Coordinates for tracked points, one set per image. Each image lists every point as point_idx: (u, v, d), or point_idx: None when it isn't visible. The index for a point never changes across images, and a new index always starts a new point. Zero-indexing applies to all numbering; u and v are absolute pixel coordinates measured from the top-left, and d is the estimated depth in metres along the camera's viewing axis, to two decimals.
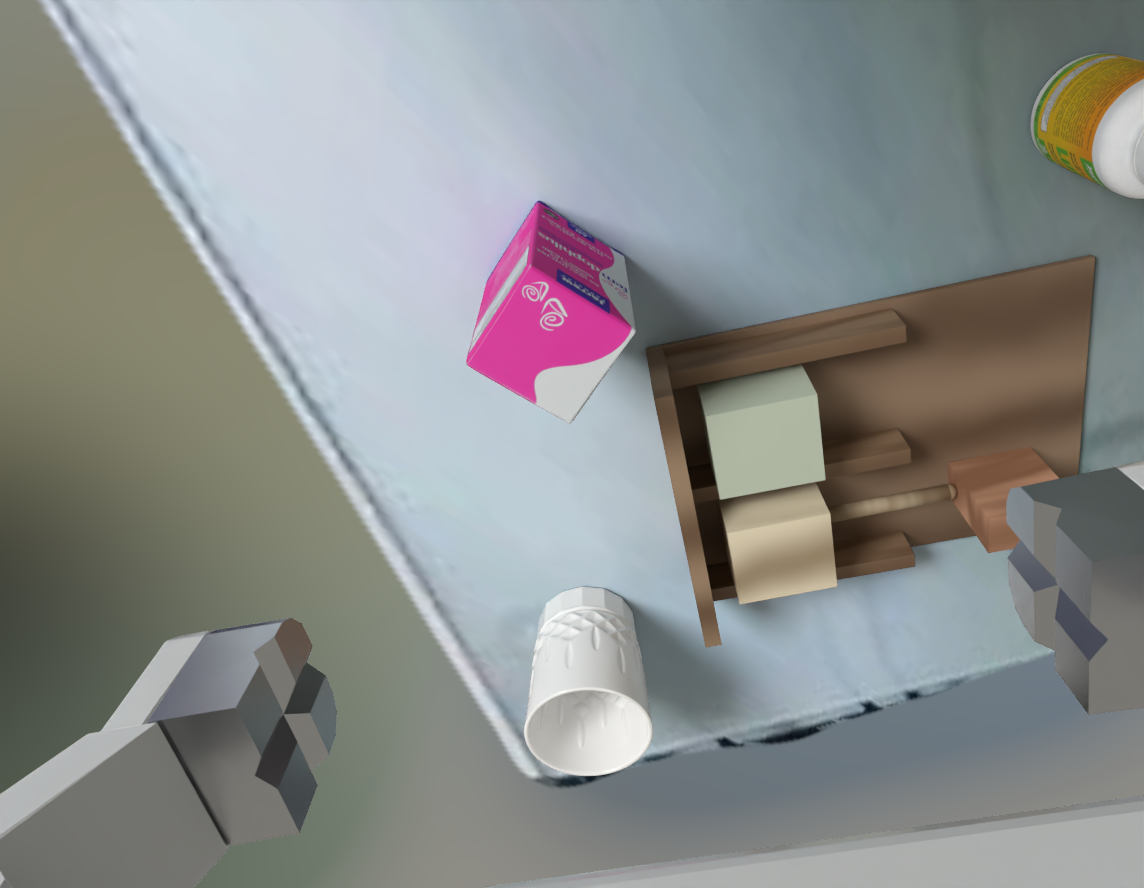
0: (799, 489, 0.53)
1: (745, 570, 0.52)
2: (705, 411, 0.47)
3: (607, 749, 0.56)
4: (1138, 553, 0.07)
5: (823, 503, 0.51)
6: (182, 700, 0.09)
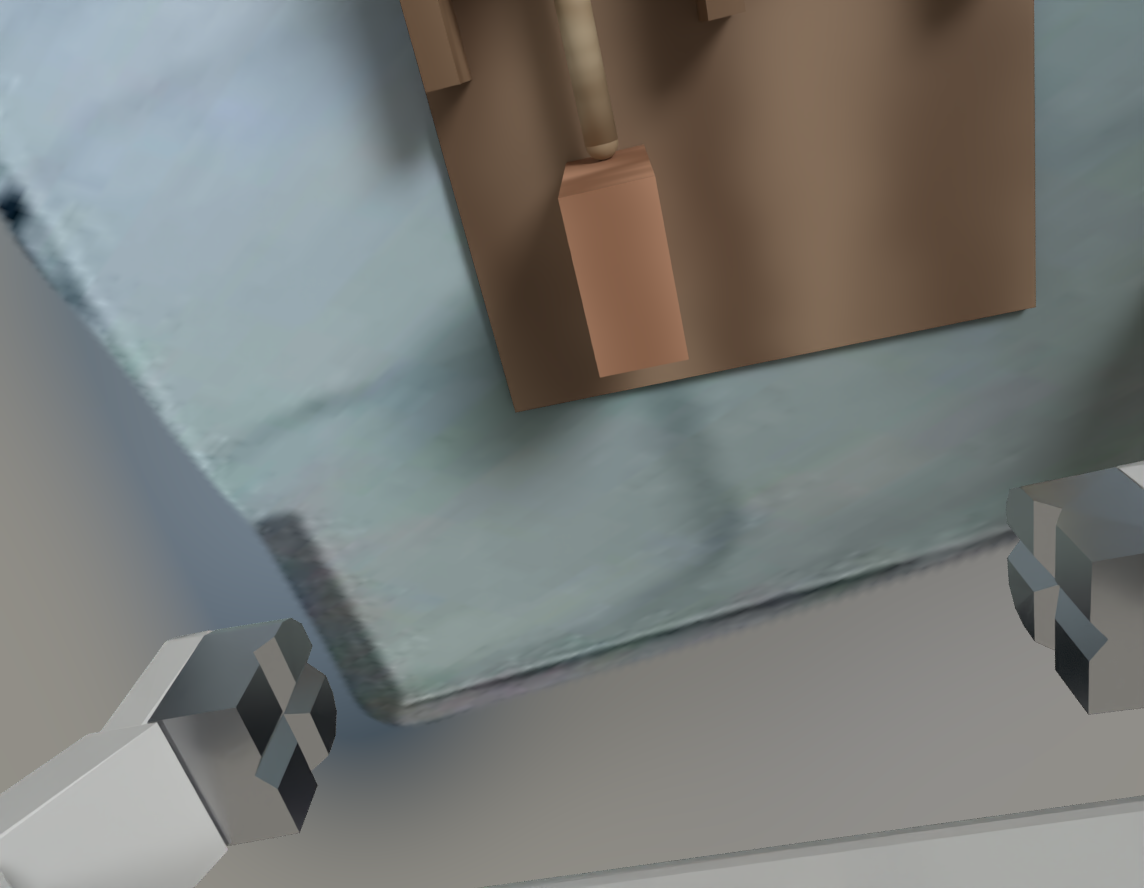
0: None
1: None
2: None
3: None
4: (1138, 553, 0.07)
5: None
6: (182, 700, 0.09)
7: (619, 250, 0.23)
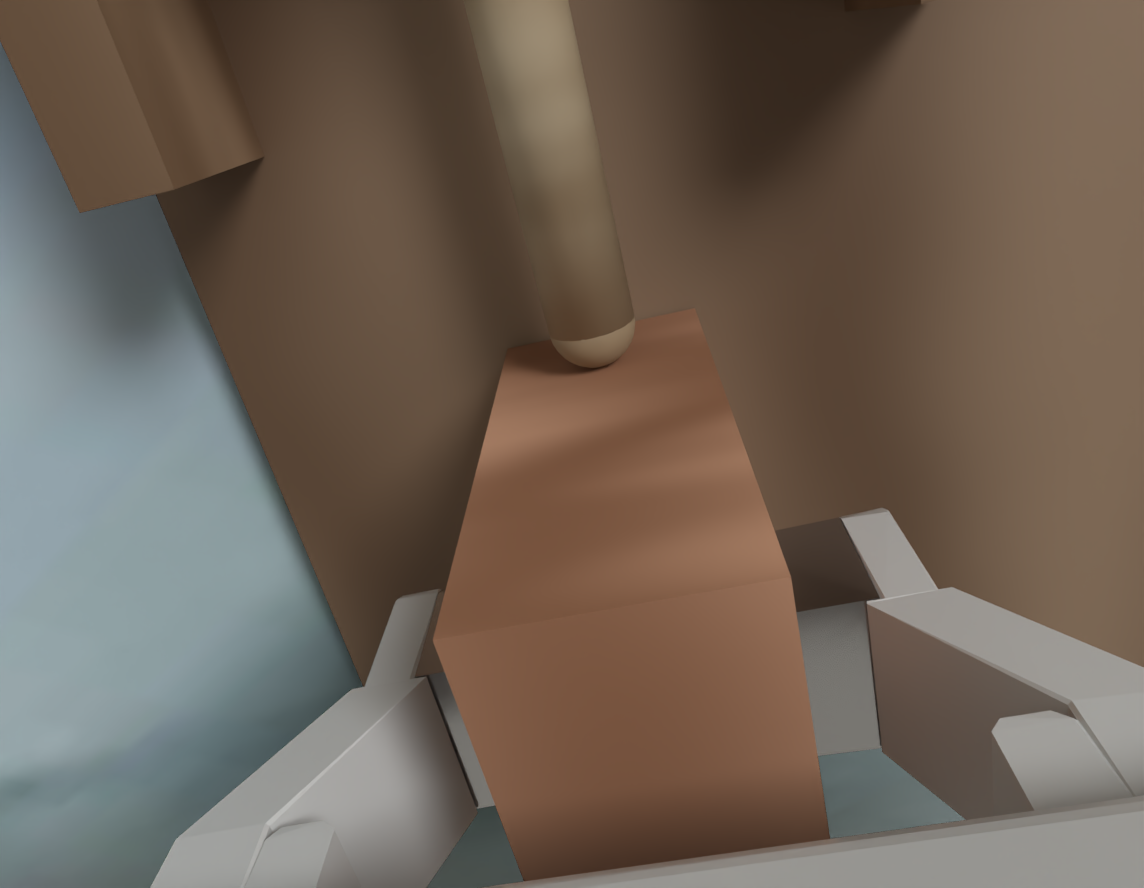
0: None
1: None
2: None
3: None
4: (819, 607, 0.08)
5: None
6: None
7: (653, 781, 0.07)
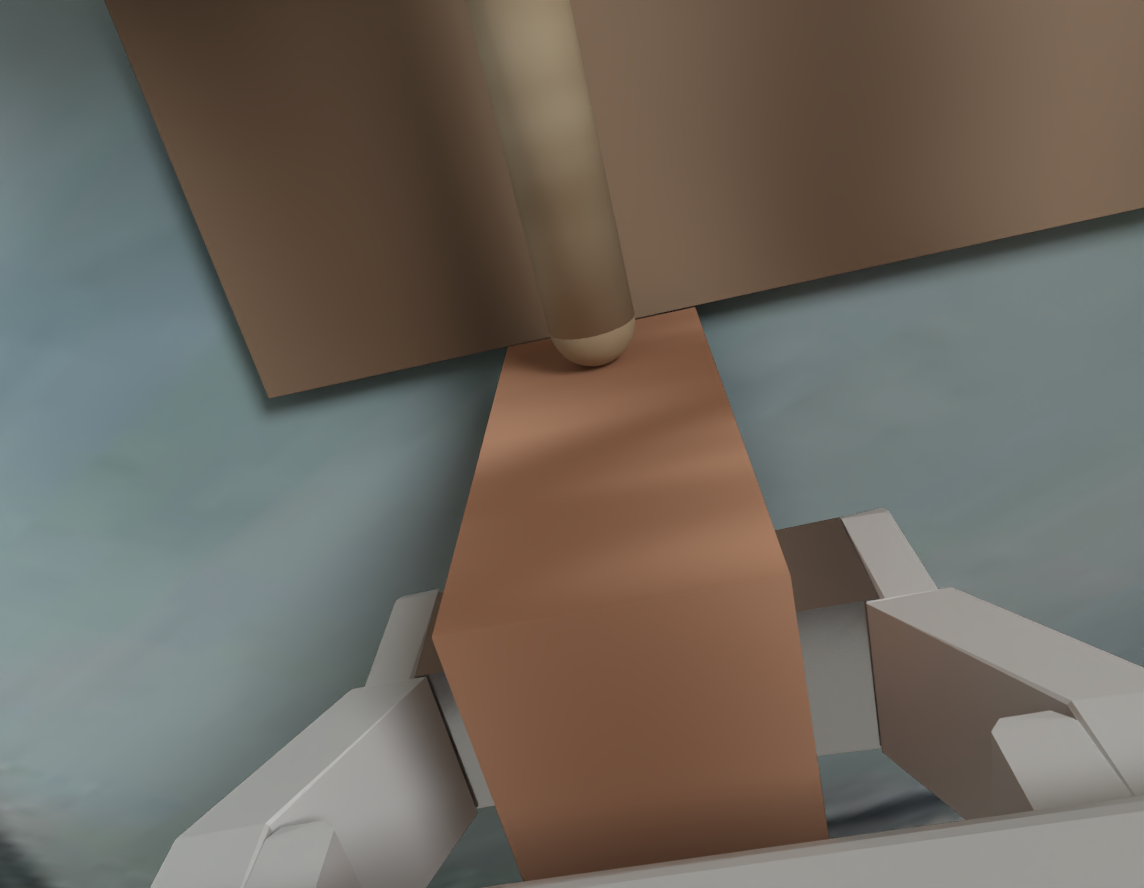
0: None
1: None
2: None
3: None
4: (818, 607, 0.08)
5: None
6: None
7: (651, 779, 0.07)
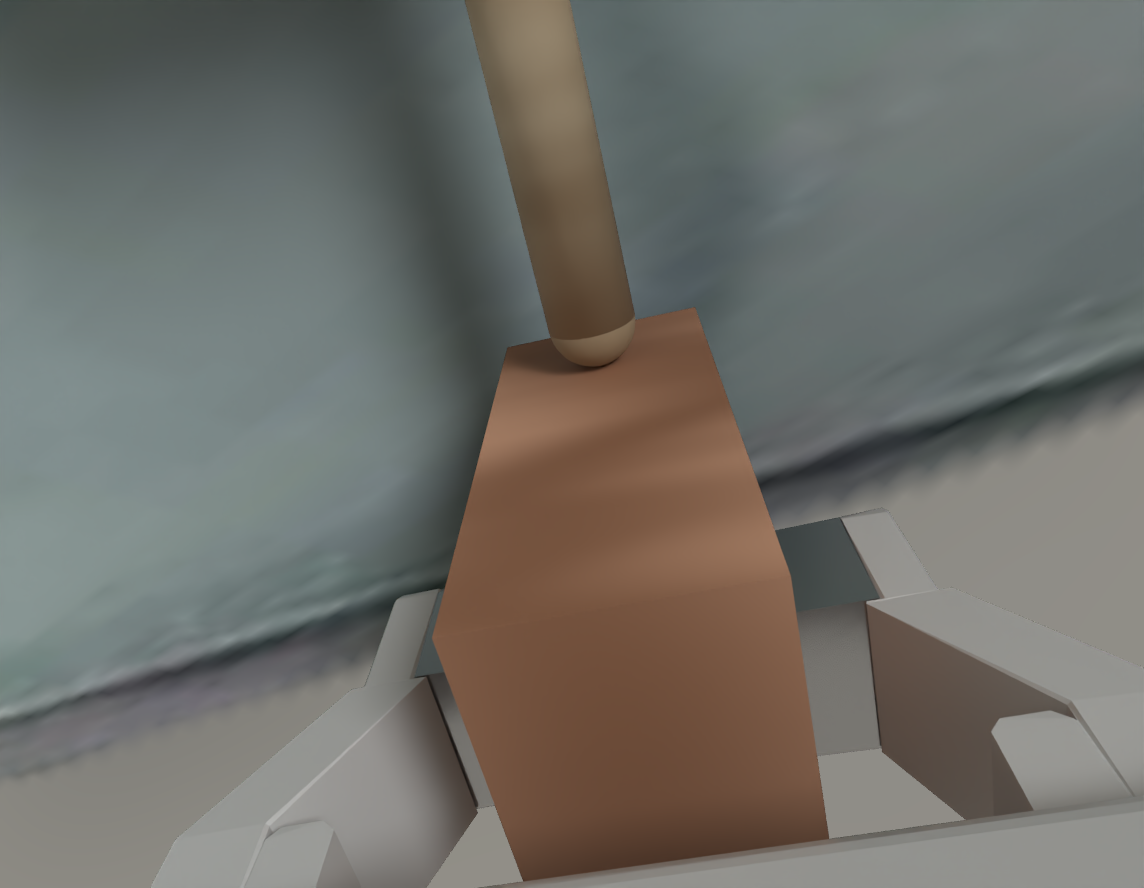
0: None
1: None
2: None
3: None
4: (818, 607, 0.08)
5: None
6: None
7: (651, 779, 0.07)
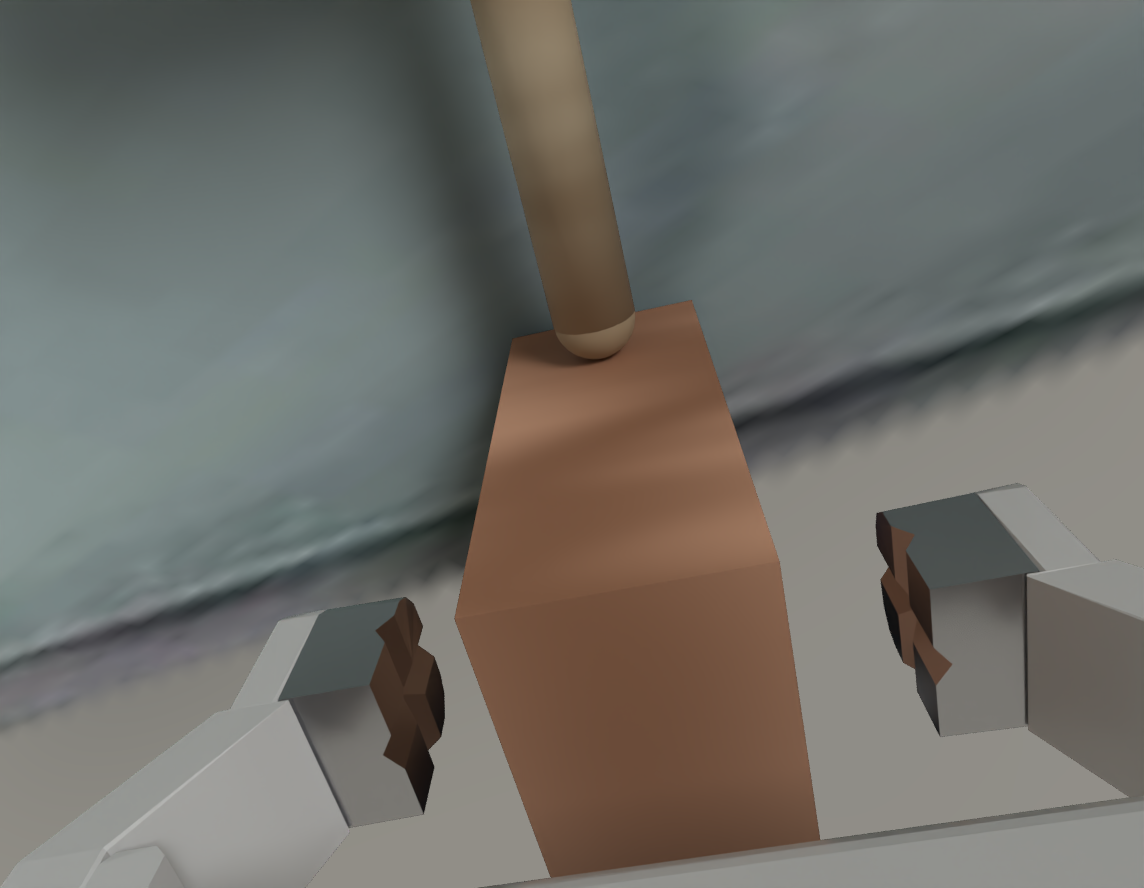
0: None
1: None
2: None
3: None
4: (974, 581, 0.08)
5: None
6: (311, 678, 0.09)
7: (654, 745, 0.07)
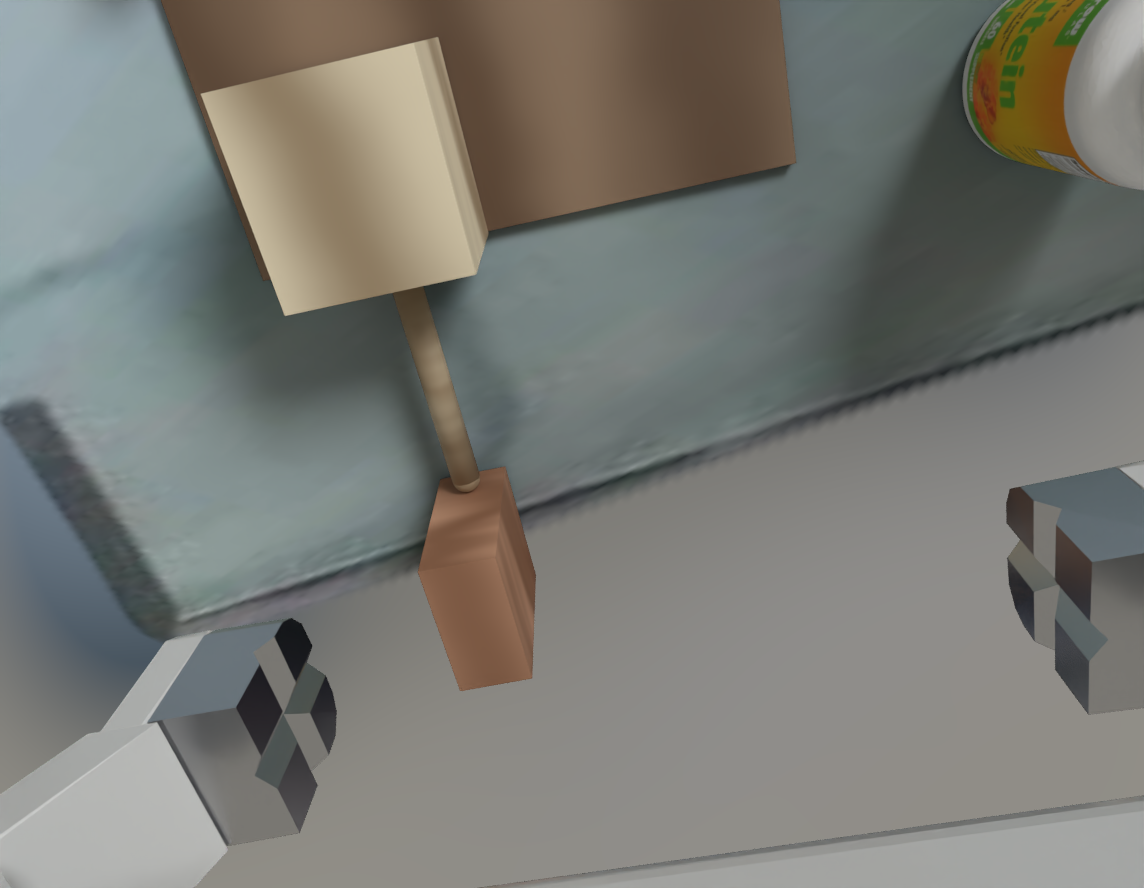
0: (474, 215, 0.26)
1: (307, 100, 0.22)
2: None
3: None
4: (1138, 553, 0.07)
5: (478, 260, 0.25)
6: (182, 701, 0.09)
7: (470, 606, 0.28)
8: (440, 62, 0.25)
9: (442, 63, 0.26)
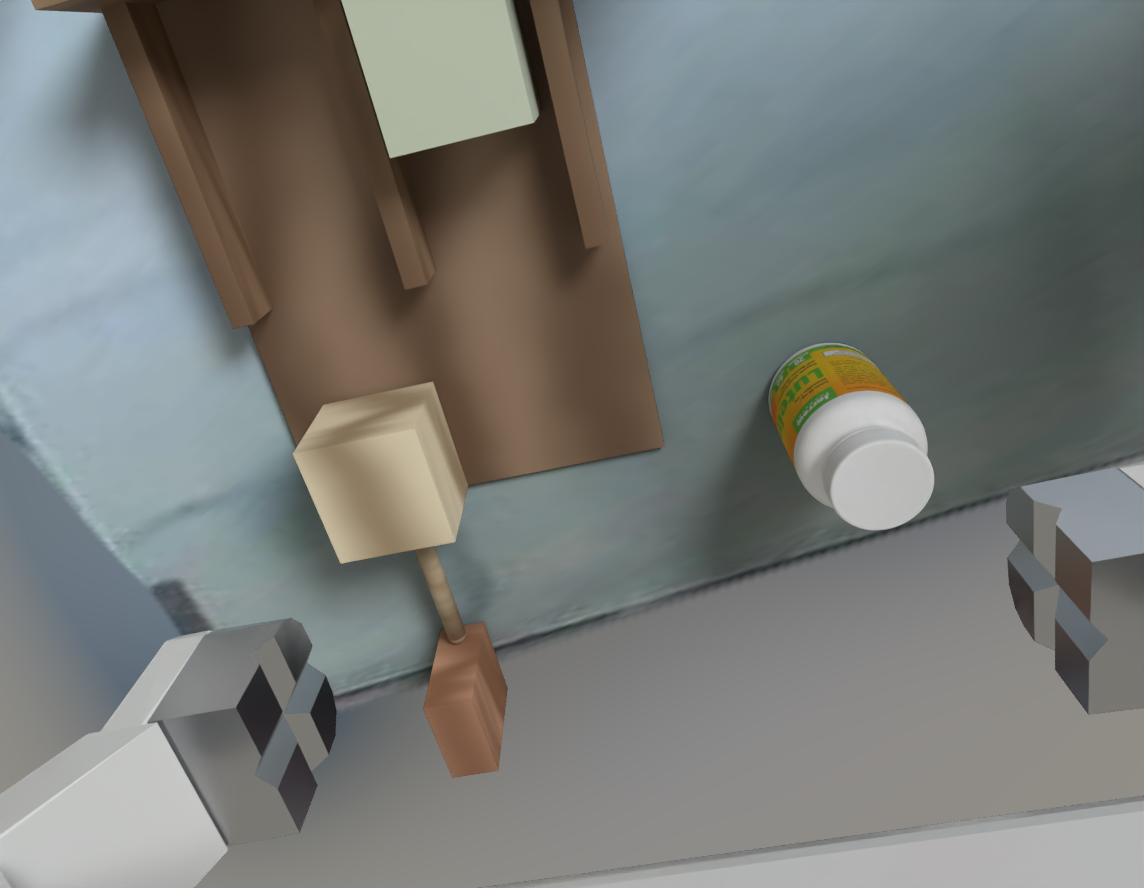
0: (456, 490, 0.42)
1: (353, 456, 0.38)
2: None
3: None
4: (1138, 553, 0.07)
5: (457, 527, 0.41)
6: (182, 701, 0.09)
7: (456, 728, 0.44)
8: (434, 402, 0.41)
9: (435, 399, 0.41)
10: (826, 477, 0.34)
